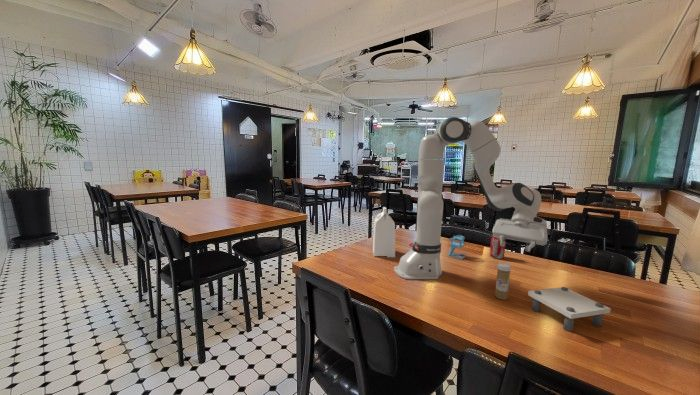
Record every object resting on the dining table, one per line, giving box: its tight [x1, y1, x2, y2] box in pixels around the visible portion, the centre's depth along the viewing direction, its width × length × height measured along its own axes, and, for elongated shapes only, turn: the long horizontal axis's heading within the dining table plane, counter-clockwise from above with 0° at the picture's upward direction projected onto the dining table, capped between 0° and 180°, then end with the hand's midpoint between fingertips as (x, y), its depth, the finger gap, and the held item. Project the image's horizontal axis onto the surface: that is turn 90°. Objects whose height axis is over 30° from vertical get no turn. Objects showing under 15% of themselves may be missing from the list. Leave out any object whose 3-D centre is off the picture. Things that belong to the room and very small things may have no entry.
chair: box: [447, 234, 467, 260], centre depth 160 cm, size 8×8×12 cm
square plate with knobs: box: [527, 286, 612, 332], centre depth 100 cm, size 16×16×7 cm
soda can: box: [489, 234, 506, 260], centre depth 159 cm, size 7×7×12 cm
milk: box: [372, 206, 396, 258], centre depth 162 cm, size 12×12×26 cm
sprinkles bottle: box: [494, 262, 512, 301], centre depth 113 cm, size 5×5×14 cm
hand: (514, 248), depth 120 cm, fingers open, 8 cm apart
